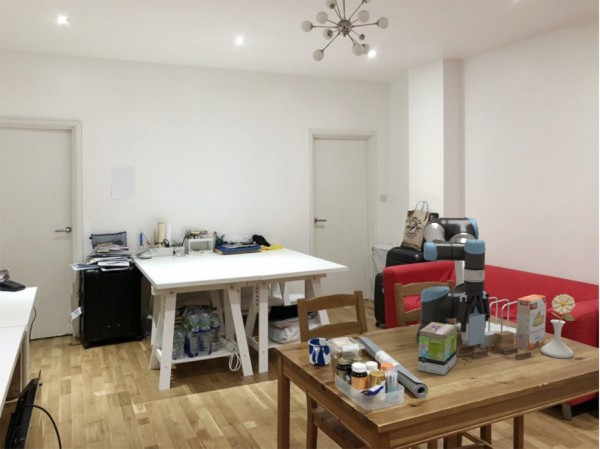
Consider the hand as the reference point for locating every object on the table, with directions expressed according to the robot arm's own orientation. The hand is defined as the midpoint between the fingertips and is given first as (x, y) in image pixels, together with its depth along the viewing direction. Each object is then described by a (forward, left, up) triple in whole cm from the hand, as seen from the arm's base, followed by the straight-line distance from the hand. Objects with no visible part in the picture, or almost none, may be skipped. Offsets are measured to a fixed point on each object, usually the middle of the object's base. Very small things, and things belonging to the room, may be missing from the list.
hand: (473, 338), depth 194 cm
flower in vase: (+24, +22, -8) cm, 34 cm away
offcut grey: (+2, +14, -6) cm, 15 cm away
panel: (0, 0, -2) cm, 2 cm away
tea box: (-5, -18, -8) cm, 20 cm away
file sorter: (-10, +38, -8) cm, 40 cm away
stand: (0, 0, -7) cm, 7 cm away
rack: (+7, +12, -7) cm, 16 cm away
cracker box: (+12, +27, -8) cm, 31 cm away
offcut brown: (+7, +12, -6) cm, 15 cm away
